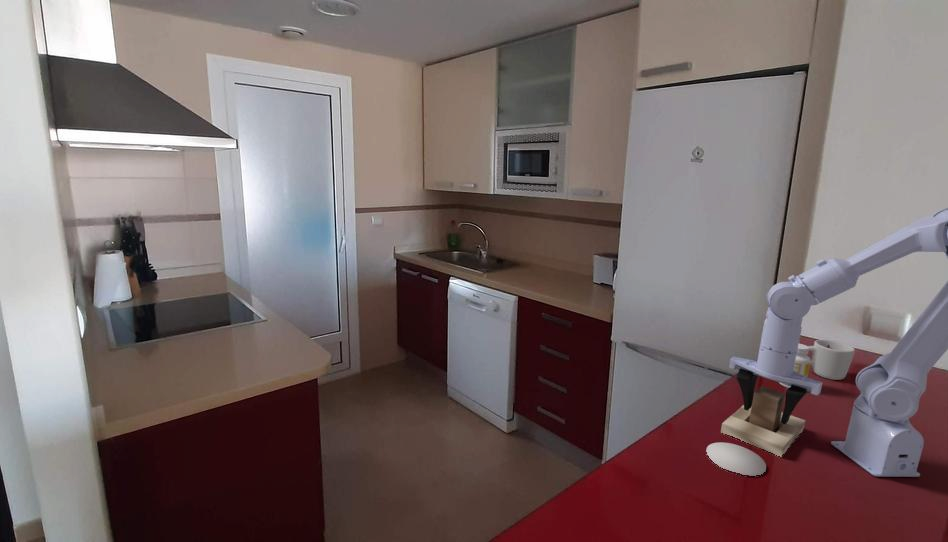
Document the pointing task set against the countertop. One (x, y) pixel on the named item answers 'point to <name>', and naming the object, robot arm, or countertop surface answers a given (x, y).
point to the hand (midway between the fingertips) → (765, 415)
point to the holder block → (763, 432)
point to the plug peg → (767, 408)
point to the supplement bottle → (801, 362)
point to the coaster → (736, 459)
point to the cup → (831, 359)
